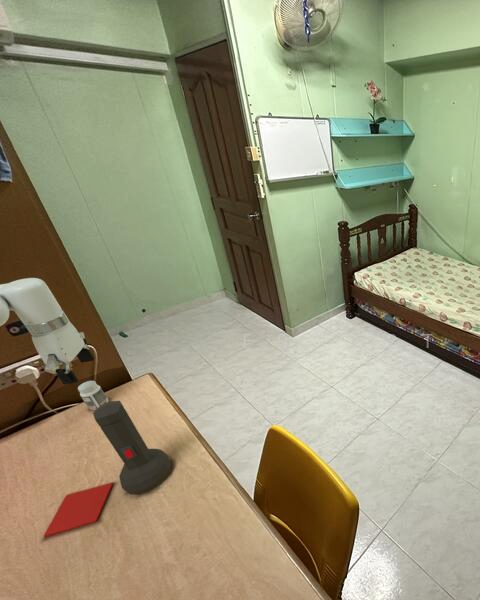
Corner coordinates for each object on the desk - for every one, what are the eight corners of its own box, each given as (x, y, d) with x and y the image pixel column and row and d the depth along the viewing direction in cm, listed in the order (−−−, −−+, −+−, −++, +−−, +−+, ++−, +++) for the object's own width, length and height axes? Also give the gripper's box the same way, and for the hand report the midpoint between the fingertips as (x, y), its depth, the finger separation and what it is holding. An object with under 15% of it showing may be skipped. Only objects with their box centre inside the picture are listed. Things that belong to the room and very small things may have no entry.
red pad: (44, 537, 66) (43, 536, 66) (67, 496, 74) (66, 494, 73) (96, 522, 69) (95, 520, 69) (113, 483, 77) (112, 482, 76)
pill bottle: (108, 396, 101) (96, 377, 97) (109, 404, 98) (97, 385, 94) (88, 404, 98) (75, 384, 94) (89, 413, 95) (76, 393, 91)
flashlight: (126, 469, 80) (121, 504, 72) (79, 399, 68) (68, 433, 60) (172, 451, 84) (172, 481, 77) (136, 382, 72) (132, 411, 65)
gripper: (48, 309, 89) (79, 356, 98) (7, 345, 75) (46, 395, 83) (81, 305, 91) (108, 351, 100) (46, 338, 77) (81, 388, 86)
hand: (80, 371), depth 92 cm, fingers open, 9 cm apart
